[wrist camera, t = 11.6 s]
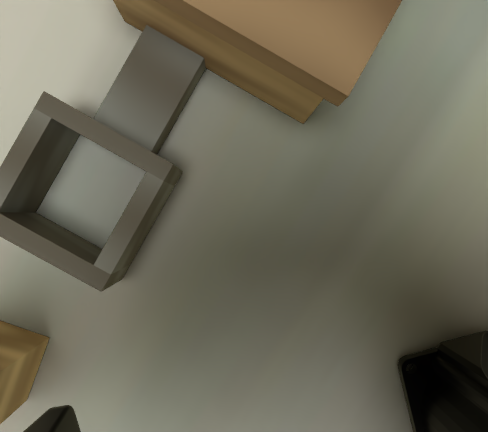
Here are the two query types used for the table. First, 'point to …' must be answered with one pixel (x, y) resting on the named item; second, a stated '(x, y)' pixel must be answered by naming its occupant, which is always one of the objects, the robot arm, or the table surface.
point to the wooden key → (18, 365)
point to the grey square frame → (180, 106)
